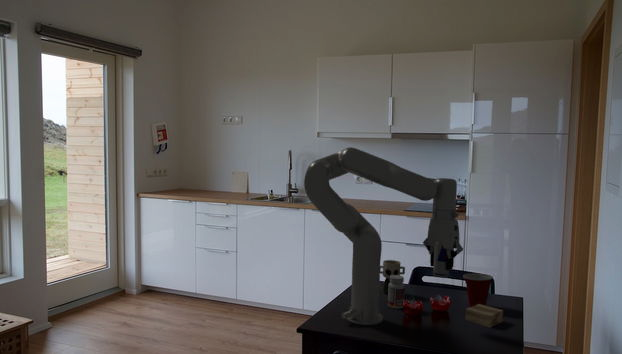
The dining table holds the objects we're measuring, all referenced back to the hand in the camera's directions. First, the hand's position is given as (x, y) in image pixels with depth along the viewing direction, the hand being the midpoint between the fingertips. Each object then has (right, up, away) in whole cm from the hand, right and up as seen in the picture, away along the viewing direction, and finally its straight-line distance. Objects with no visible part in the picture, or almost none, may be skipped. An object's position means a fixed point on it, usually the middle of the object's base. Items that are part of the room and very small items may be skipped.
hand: (441, 267), depth 162 cm
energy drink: (0, -3, 0) cm, 3 cm away
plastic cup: (+19, -19, +20) cm, 33 cm away
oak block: (+16, -19, +4) cm, 25 cm away
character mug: (-12, -17, +34) cm, 40 cm away
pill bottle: (-12, -18, +17) cm, 28 cm away
